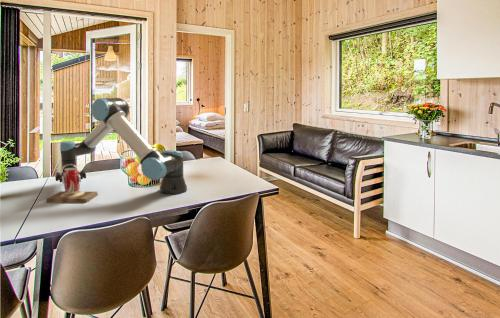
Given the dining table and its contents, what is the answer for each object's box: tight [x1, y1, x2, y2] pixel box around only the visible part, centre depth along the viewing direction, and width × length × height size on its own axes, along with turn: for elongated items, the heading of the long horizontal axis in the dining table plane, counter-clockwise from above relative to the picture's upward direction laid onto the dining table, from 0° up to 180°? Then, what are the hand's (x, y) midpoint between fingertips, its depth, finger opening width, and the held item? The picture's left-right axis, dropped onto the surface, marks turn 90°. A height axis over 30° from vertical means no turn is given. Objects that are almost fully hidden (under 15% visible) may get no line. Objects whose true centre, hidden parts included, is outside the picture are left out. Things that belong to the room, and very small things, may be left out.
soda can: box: [63, 167, 81, 193], centre depth 180 cm, size 7×7×12 cm
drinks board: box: [46, 190, 99, 204], centre depth 181 cm, size 20×13×2 cm, turn 90°
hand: (71, 180), depth 175 cm, fingers closed on soda can, 7 cm apart
